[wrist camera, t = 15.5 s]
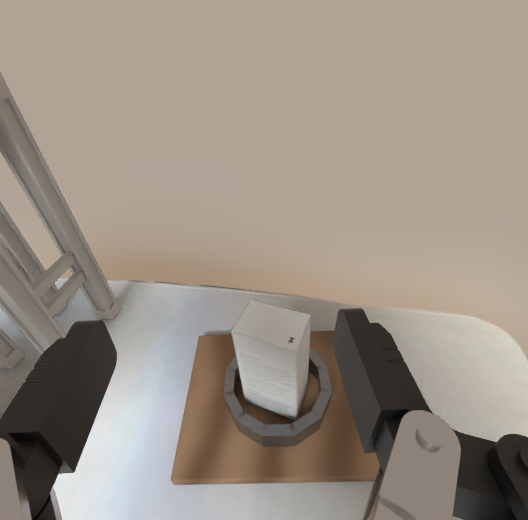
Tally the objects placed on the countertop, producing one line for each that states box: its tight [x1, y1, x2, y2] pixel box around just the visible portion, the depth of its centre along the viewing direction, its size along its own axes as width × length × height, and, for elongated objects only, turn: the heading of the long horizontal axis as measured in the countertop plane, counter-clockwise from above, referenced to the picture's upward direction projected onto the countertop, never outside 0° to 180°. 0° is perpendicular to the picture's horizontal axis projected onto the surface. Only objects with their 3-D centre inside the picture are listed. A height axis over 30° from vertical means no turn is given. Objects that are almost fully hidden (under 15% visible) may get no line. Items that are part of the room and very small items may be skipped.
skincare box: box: [231, 300, 311, 421], centre depth 30 cm, size 6×4×12 cm
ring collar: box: [223, 346, 332, 447], centre depth 33 cm, size 11×11×2 cm
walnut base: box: [171, 331, 380, 485], centre depth 34 cm, size 20×16×2 cm
